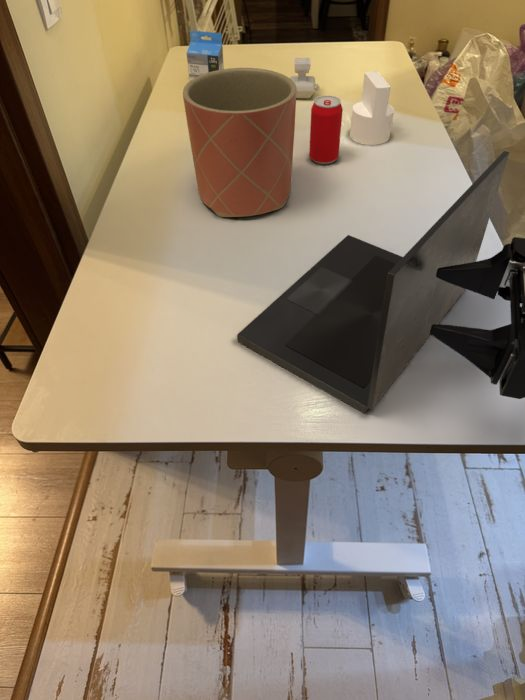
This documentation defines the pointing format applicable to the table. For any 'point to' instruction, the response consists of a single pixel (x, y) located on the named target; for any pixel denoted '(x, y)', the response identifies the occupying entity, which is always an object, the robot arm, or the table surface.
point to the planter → (242, 139)
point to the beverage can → (325, 129)
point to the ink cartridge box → (204, 53)
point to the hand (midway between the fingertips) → (433, 299)
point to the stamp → (304, 78)
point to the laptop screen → (430, 279)
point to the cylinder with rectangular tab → (372, 112)
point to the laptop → (329, 321)
